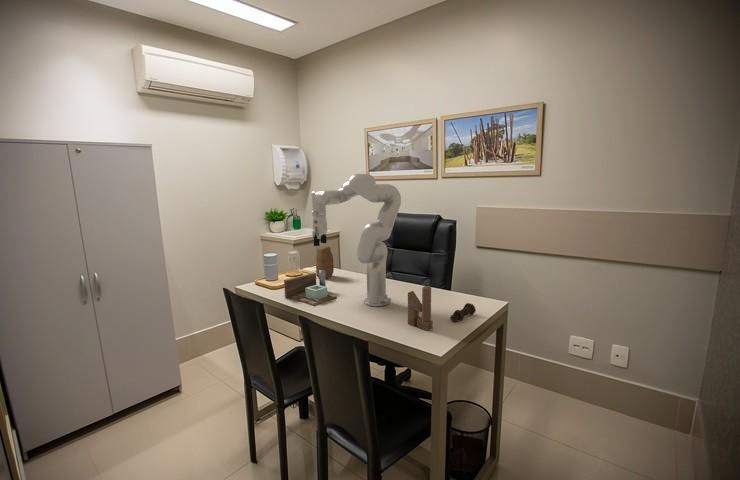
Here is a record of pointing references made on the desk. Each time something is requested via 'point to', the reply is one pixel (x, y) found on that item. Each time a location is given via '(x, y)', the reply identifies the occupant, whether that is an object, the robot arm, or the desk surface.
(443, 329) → the desk surface
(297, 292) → the backstop board
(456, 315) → the dumbbell
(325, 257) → the brown tall rounded block
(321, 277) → the peg
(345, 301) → the desk surface
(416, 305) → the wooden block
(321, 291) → the teal square socket
